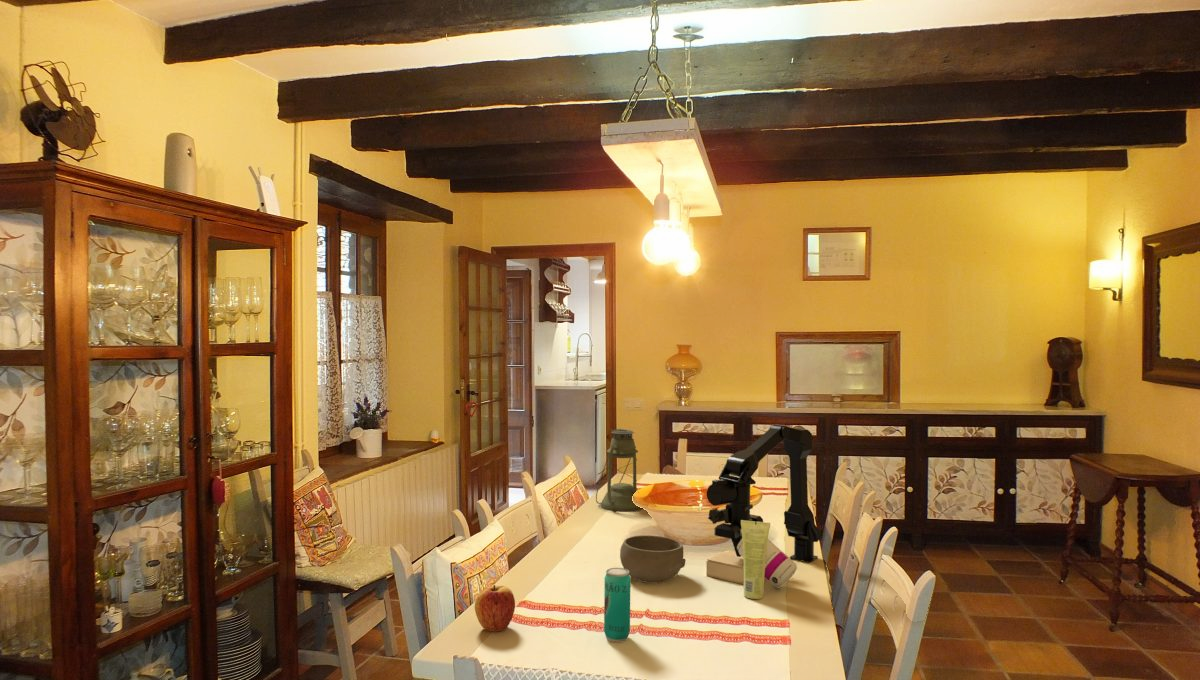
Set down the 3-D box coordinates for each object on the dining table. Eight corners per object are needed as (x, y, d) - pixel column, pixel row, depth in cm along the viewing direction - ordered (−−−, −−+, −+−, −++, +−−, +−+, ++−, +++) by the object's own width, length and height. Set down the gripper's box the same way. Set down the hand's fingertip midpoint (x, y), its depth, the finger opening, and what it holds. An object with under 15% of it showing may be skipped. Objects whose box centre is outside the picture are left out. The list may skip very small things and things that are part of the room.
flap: (727, 551, 223) (727, 550, 223) (770, 559, 215) (770, 558, 215) (718, 555, 219) (718, 554, 219) (762, 564, 211) (762, 563, 211)
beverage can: (602, 633, 172) (603, 567, 172) (628, 633, 172) (628, 566, 172) (605, 644, 166) (605, 575, 166) (631, 643, 167) (632, 575, 166)
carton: (726, 565, 223) (726, 549, 223) (771, 575, 215) (771, 558, 215) (706, 575, 214) (706, 559, 213) (752, 586, 205) (752, 569, 205)
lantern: (626, 514, 284) (627, 434, 284) (587, 508, 294) (588, 430, 294) (653, 504, 301) (654, 428, 301) (616, 498, 311) (616, 425, 311)
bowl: (691, 573, 216) (692, 538, 216) (670, 592, 200) (671, 554, 200) (635, 564, 223) (635, 530, 223) (610, 582, 207) (610, 546, 207)
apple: (480, 639, 168) (480, 594, 168) (470, 624, 176) (470, 581, 176) (519, 633, 172) (520, 589, 172) (508, 619, 180) (508, 577, 180)
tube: (757, 591, 201) (758, 517, 201) (769, 598, 196) (770, 522, 196) (739, 594, 198) (740, 520, 198) (751, 601, 194) (752, 524, 194)
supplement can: (793, 568, 197) (749, 528, 205) (774, 592, 199) (731, 551, 206) (801, 564, 204) (758, 526, 212) (783, 587, 206) (741, 548, 213)
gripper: (729, 491, 226) (728, 544, 226) (697, 502, 211) (697, 558, 212) (764, 497, 219) (763, 551, 220) (734, 508, 205) (733, 566, 205)
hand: (738, 556), depth 214 cm, fingers closed
